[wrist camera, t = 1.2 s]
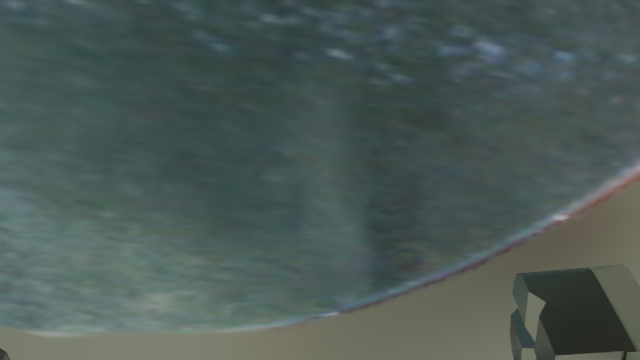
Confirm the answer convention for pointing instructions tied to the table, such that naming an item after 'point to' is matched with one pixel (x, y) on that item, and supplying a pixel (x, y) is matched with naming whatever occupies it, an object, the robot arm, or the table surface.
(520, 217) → the table surface
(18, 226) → the table surface
